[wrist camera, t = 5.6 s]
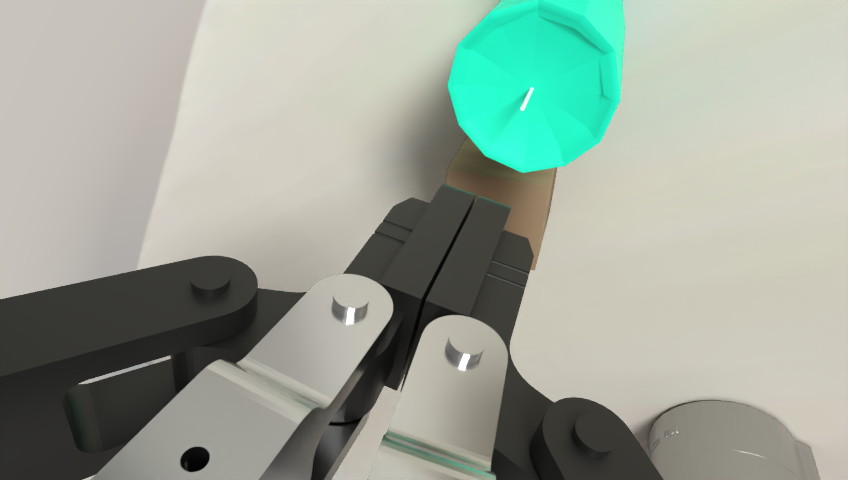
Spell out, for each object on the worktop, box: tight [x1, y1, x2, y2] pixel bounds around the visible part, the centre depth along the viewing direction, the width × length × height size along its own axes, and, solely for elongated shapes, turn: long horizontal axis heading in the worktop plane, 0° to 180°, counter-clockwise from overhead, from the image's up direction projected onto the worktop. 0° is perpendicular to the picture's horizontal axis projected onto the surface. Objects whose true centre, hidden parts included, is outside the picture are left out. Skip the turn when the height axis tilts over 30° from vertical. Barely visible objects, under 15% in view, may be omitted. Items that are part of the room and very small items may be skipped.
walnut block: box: [446, 136, 557, 270], centre depth 30 cm, size 5×5×6 cm
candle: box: [447, 0, 625, 173], centre depth 22 cm, size 6×6×12 cm
